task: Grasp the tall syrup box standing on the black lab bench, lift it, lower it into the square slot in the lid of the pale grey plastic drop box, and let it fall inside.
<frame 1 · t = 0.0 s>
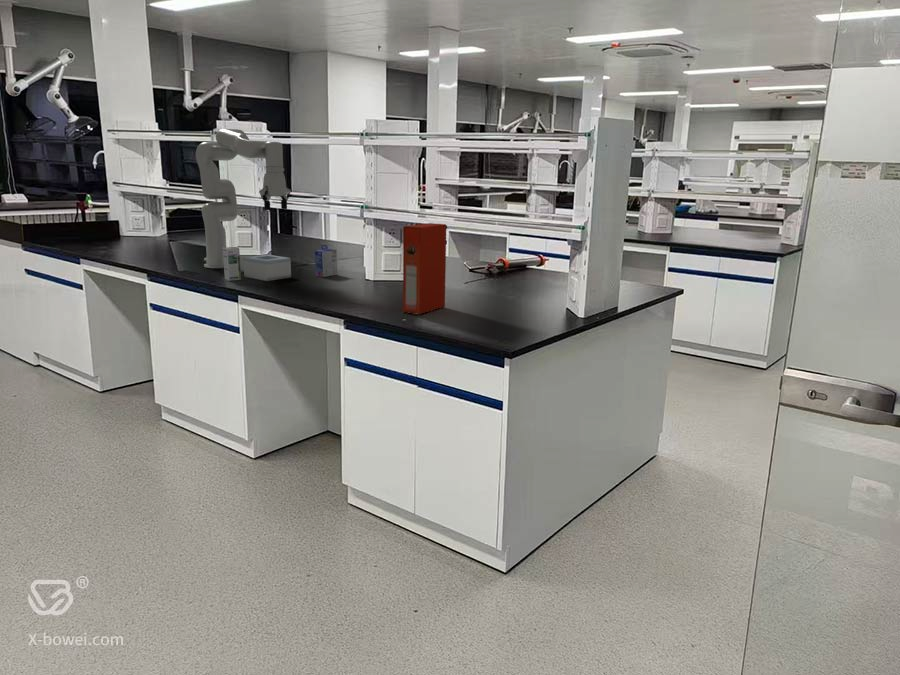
hand: (275, 209, 308), 31 cm above the worktop, tool pointing down, fingers open, 9 cm apart
ink cartridge box: (326, 275, 326), on the worktop
drop box: (267, 277, 317), on the worktop
syrup box: (232, 279, 309), on the worktop
file binder: (424, 310, 259), on the worktop
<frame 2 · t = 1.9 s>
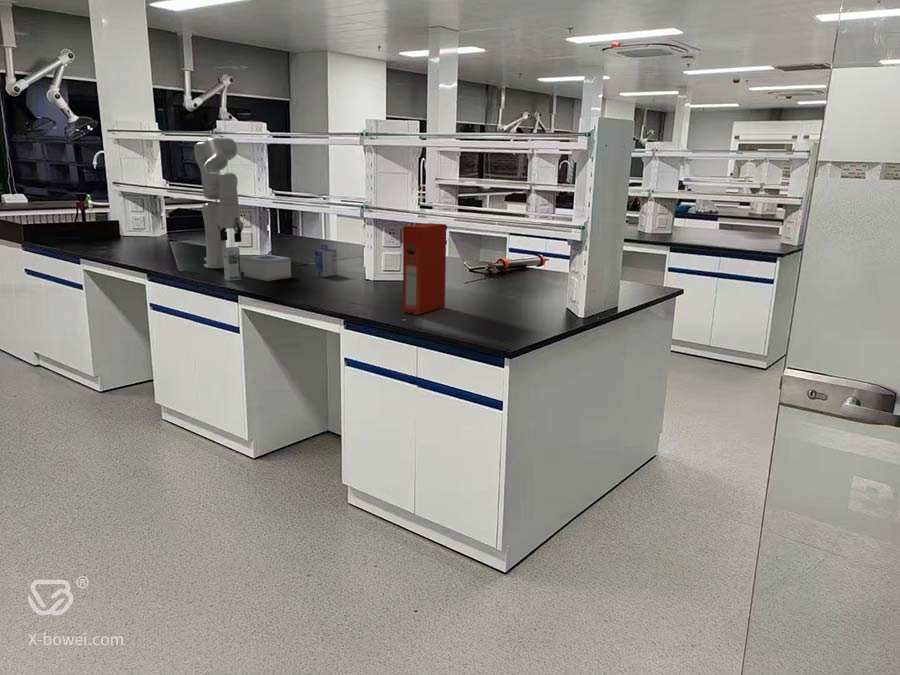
hand: (231, 241, 304), 17 cm above the worktop, tool pointing down, fingers open, 9 cm apart
nothing on the worktop moved.
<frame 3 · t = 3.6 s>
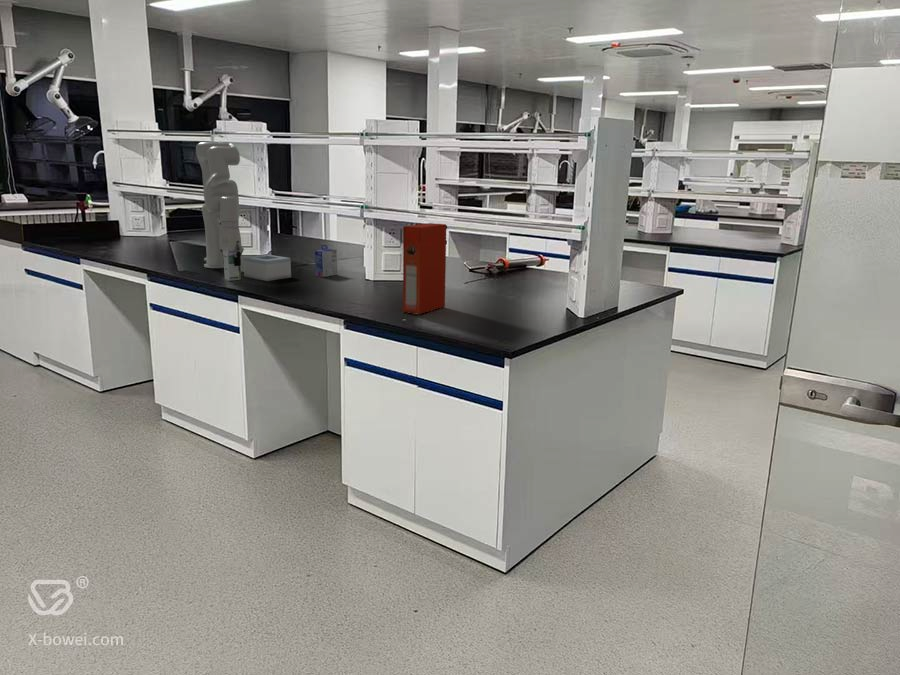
hand: (232, 264, 307), 7 cm above the worktop, tool pointing down, fingers closed on syrup box, 7 cm apart
syrup box: (232, 279, 309), on the worktop, touching gripper
everything else where it was.
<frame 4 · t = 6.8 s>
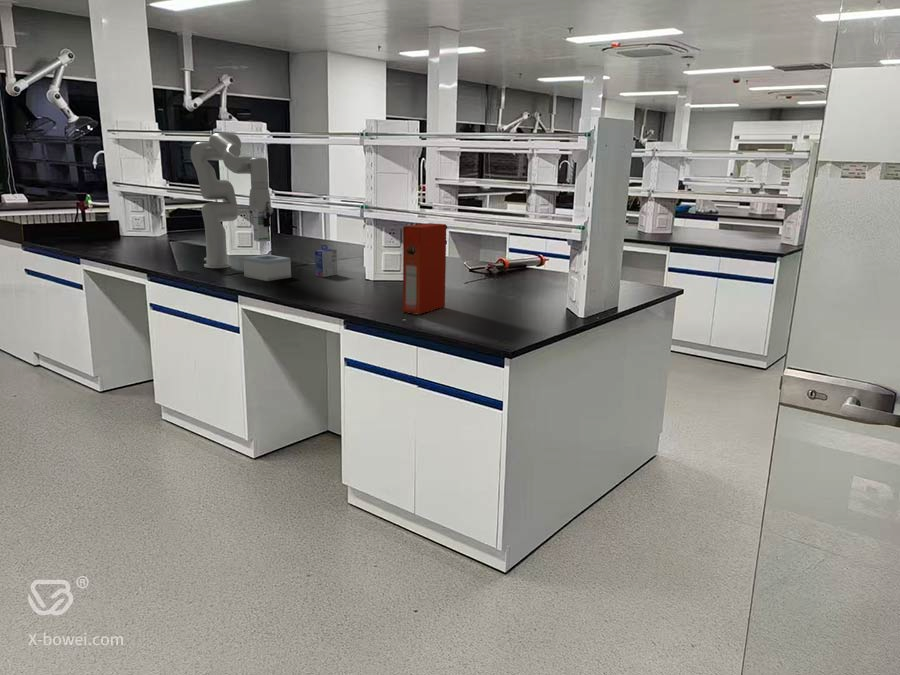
hand: (261, 225, 310), 24 cm above the worktop, tool pointing down, fingers closed on syrup box, 7 cm apart
syrup box: (261, 241, 312), point 17 cm above the worktop, touching gripper
everything else where it was.
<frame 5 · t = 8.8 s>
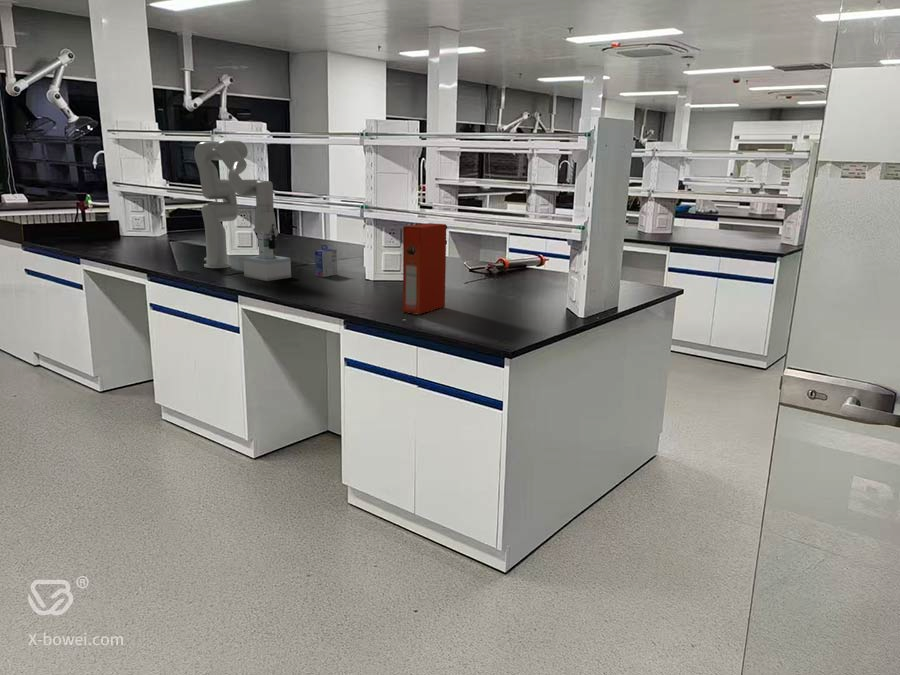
hand: (266, 247, 314), 14 cm above the worktop, tool pointing down, fingers closed on syrup box, 7 cm apart
syrup box: (267, 262, 315), point 7 cm above the worktop, touching gripper
everything else where it was.
when the fingers open (12 cm above the worktop, at t = 10.2 s): syrup box drops 4 cm, resting on drop box.
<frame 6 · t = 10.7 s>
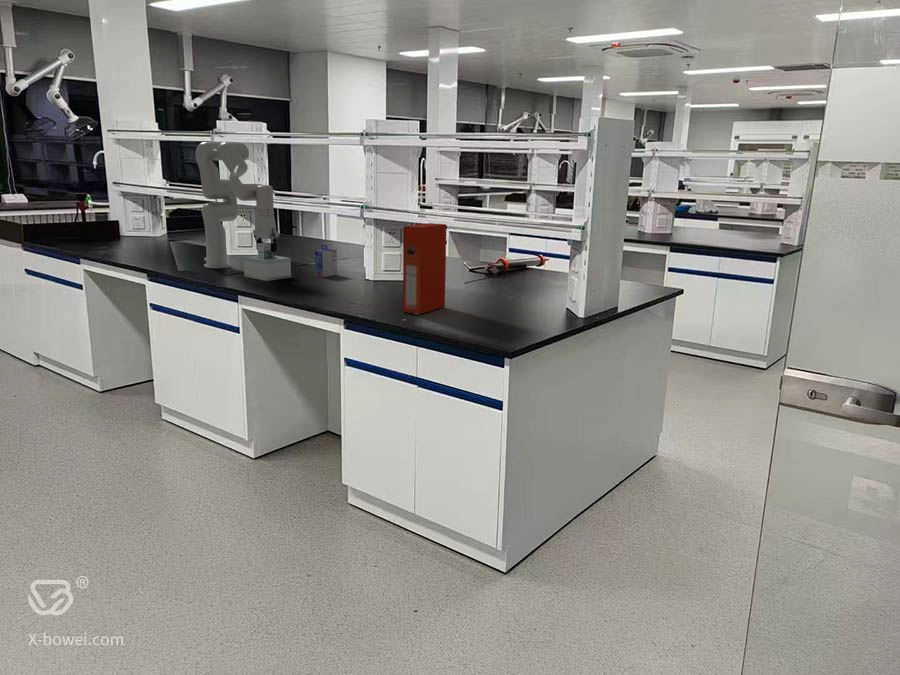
hand: (266, 250, 314), 12 cm above the worktop, tool pointing down, fingers open, 9 cm apart
syrup box: (267, 274, 317), point 1 cm above the worktop, touching drop box
everything else where it was.
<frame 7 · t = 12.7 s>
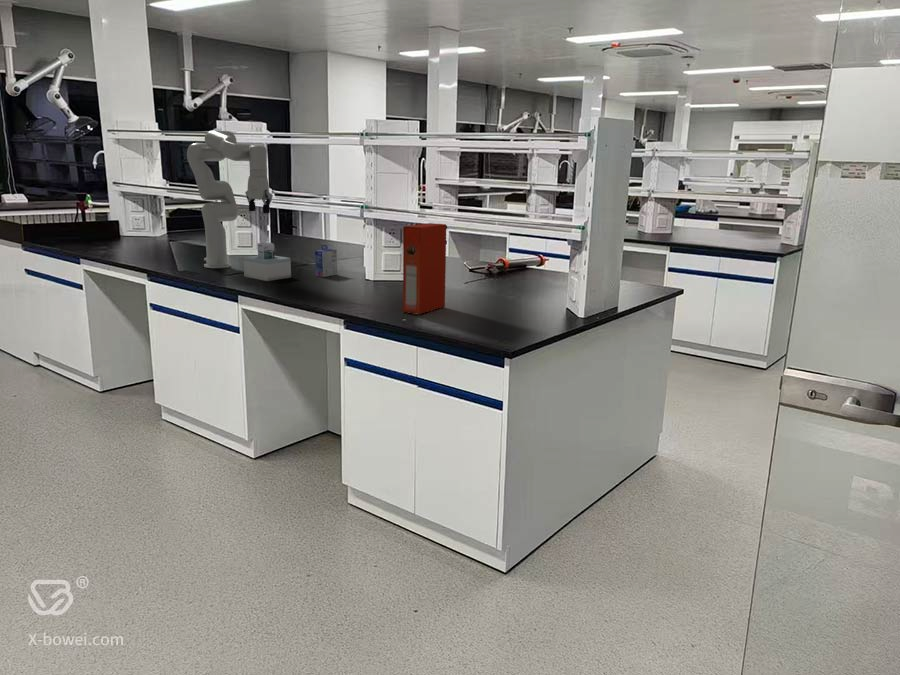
hand: (259, 212, 312), 29 cm above the worktop, tool pointing down, fingers open, 9 cm apart
nothing on the worktop moved.
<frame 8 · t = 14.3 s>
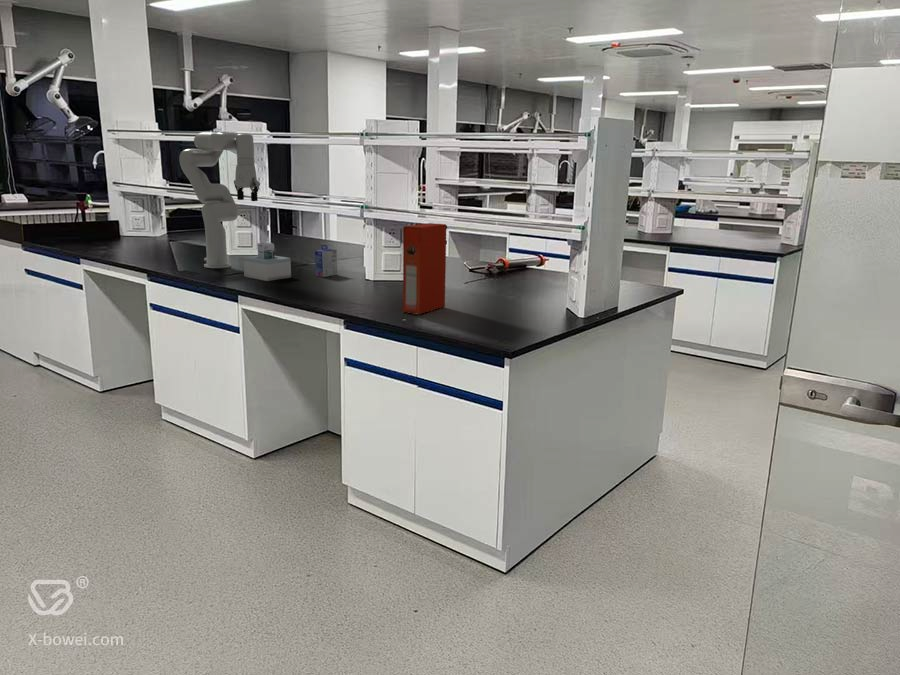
hand: (247, 200, 315), 34 cm above the worktop, tool pointing down, fingers open, 9 cm apart
nothing on the worktop moved.
at the end: syrup box inside the target area on the drop box (0.5 cm from its centre), point 1.0 cm above the drop box's base; the gripper is holding nothing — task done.
